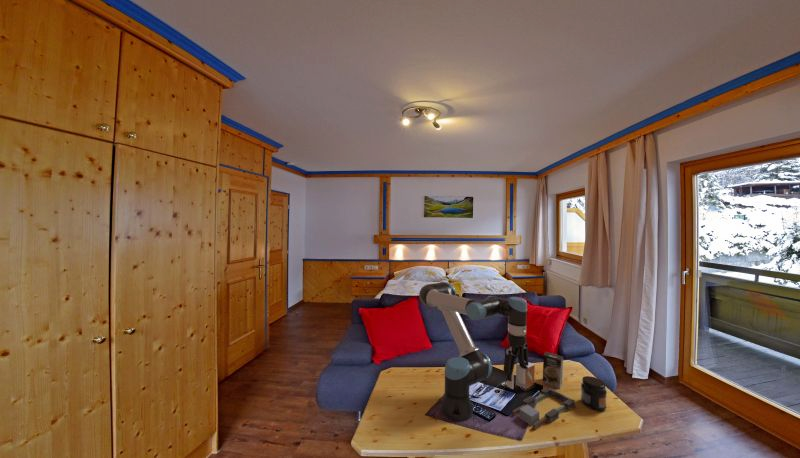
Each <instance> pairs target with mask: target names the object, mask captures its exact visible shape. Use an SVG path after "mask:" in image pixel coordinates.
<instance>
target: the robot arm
mask: <svg viewBox="0 0 800 458" xmlns="http://www.w3.org/2000/svg"><path fill="white" fill-rule="evenodd" d="M418 295H419V296H418V298H419V300H420V302H421V303H422V304H423V305H425V306H427V307H431V308H435V307H436V308H437V310H439V311H441V313H442V315H443V317H444V320H445V322H446V323H447V326H448V329H449V332H450V334H451V335H452V337H453V340H454V341H455V343H456V346H457V349H458V351H459V356H458V357H456V356H454V357H451V358H449V359H447V360H446V362H445V366H444V393H443V395H442V399H441V401H440V402H441V403H440V411H441V413H442V414H443V416H445V417H446V418H448V419H450V420H453V421H459V422H460V421H461V422H463V421H467V420H469V419H471V417H472V416H473V413H474V410H473V409H474V408H473V404H472V401H471V396H470V387H471V386H473V385H476V384H478V383H479V382H482V381H486V379H487V378H490V376H491V375H492V371H493V365H492V360H491V359H490V357H489V356H488V355H487V354H486V353H483V352H482V351H481V348H479V347H477V346H476V345H475V343H474V341H473V338H472V337H471V335H470V333H469V331H468V328H467V326H466V325H465V322H464V319H463V318H462V316H461V314H462V315H465V316H467V317H468V318H469V319H470V320H471V321H481V320H483V319H487V318H490V317H494V316H499V315H500V316H501V317H506V318H507V331H508V332H507V341H508V343H509V346H508V348H505V349H504V359H503V360H504V363H503V372H504V373H506V386H507V388H509V389H512V390H514V388H515V385H514V380H515V378H514V377H515V374H514V369H515V365H516V361H517V360H518V363H519V365H520V366H521V367H520V366H519V367H518V381H519V382H521V383H523V384H524V383H525V369H527V368H528V367H527V366H528V362H529V351H528V350H529V344H528V343H527V330H528V329H527V316H528V313H527V312H528V303H527V300H526V299H525V298H523V297H519V296H511V297H509V298H508V299H505V298H501V297H498V296H496V295H488V296H487V297H485V298H484V299H483V300H475V299H472V298H467V297H463V296H458V295H457V291H456V288H455V286H454V285H453V284H452V283H450V282H448V281H446V282H445V281H440V282H436V283H435V282H434V283H430V284H428V283H427V284H425V285H423V286H422V287H421V289H420V291H419V293H418ZM525 361H526V362H525Z"/></svg>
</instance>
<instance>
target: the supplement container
mask: <svg viewBox="0 0 800 458" xmlns="http://www.w3.org/2000/svg"><path fill="white" fill-rule="evenodd" d="M581 382H582V383H581V384H580V386H581V391H580V394H581V395H580V401H581V403H582V404H583V405H584V406H586V407H587V408H589V409H591V410H594V411H605V410H606V409H607V394H608V392H607V390H606V389H607V388H606V387H607V386H606V382H604V381H603V380H602V379H600V378H597V377H594V376H591V375H587V376H583V377H582V381H581Z"/></svg>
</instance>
